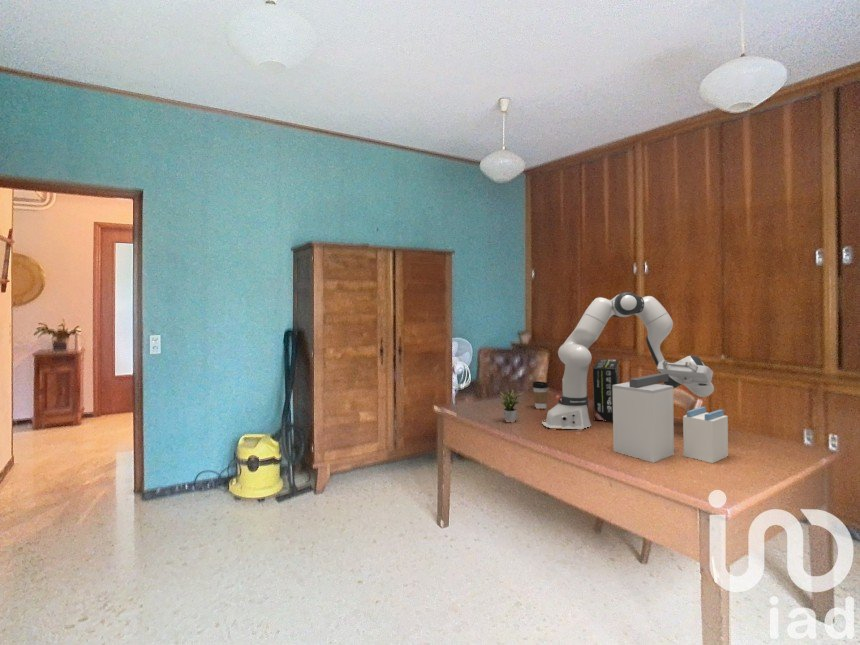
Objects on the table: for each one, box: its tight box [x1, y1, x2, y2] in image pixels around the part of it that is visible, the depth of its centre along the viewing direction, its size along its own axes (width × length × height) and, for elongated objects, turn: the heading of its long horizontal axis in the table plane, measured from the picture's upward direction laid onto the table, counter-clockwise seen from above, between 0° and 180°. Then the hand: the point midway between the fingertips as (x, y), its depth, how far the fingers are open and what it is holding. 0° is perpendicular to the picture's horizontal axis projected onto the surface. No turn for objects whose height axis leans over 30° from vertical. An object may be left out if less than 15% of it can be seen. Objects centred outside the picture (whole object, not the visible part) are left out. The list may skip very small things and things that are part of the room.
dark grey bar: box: [628, 373, 669, 388], centre depth 174 cm, size 22×3×3 cm, turn 124°
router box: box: [592, 358, 620, 422], centre depth 234 cm, size 36×11×27 cm, turn 156°
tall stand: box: [612, 381, 675, 463], centre depth 171 cm, size 14×16×26 cm
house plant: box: [498, 389, 524, 421], centre depth 222 cm, size 14×14×16 cm
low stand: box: [682, 406, 729, 464], centre depth 166 cm, size 12×10×17 cm
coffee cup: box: [532, 380, 549, 409], centre depth 249 cm, size 8×8×15 cm
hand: (675, 362), depth 184 cm, fingers open, 8 cm apart
